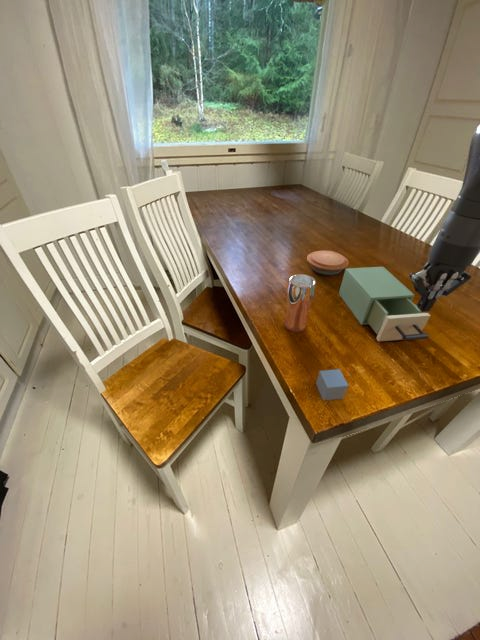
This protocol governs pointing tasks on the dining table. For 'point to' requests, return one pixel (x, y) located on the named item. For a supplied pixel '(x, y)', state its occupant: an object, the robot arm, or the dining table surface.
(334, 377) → the block
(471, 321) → the dining table surface
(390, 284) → the cabinet
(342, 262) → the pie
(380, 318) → the drawer
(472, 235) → the robot arm
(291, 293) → the metal cup
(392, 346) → the dining table surface
